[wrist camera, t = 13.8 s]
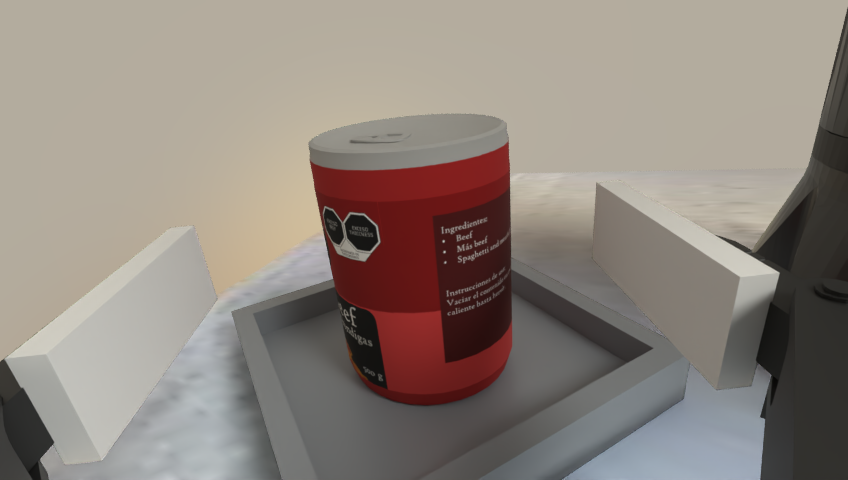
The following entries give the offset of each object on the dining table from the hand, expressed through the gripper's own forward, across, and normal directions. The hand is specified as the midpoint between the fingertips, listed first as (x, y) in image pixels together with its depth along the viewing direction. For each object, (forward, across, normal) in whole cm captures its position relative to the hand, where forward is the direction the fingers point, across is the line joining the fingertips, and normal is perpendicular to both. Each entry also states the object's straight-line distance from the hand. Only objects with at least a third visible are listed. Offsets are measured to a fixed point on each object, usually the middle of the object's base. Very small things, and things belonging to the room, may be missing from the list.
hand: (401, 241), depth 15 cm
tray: (+4, +1, -9) cm, 10 cm away
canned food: (+4, +1, -8) cm, 9 cm away
